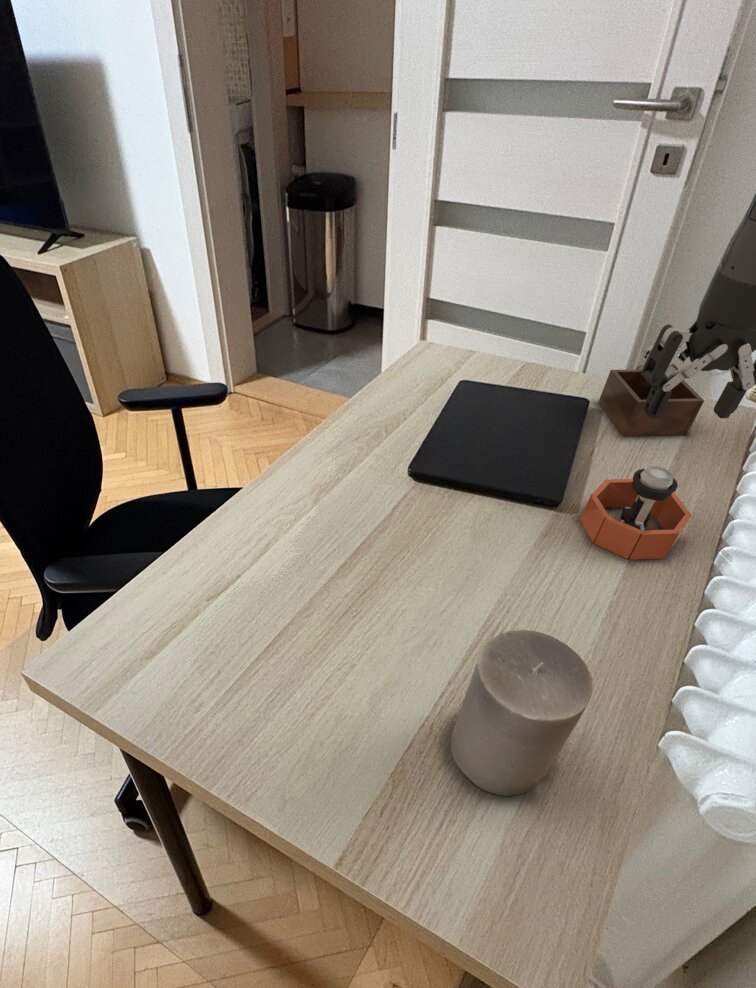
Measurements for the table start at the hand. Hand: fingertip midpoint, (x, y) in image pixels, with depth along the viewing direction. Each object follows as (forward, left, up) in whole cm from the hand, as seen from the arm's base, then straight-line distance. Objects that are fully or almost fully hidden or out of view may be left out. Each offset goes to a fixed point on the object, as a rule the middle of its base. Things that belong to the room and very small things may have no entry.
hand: (685, 415), depth 74 cm
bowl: (0, 0, -18) cm, 18 cm away
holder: (-15, -30, -18) cm, 38 cm away
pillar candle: (+28, +33, -18) cm, 47 cm away
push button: (0, 0, -18) cm, 18 cm away
